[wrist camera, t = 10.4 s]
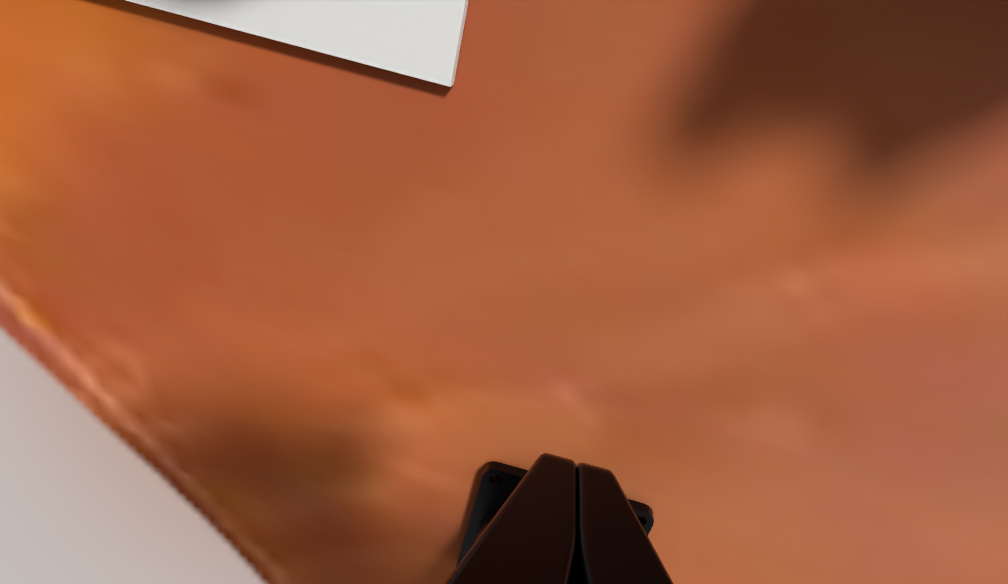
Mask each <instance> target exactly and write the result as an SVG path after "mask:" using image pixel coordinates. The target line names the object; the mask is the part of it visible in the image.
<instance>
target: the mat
mask: <svg viewBox="0 0 1008 584" xmlns="http://www.w3.org/2000/svg"><path fill="white" fill-rule="evenodd" d="M126 1H130V2H134V3H137V4H141V5H145V6H149V7H152V8H156V9H160V10H164V11H167V12H171V13H175V14H179V15H182V16H186V17H190V18H194V19H197V20H201V21H205V22H209V23H212V24H216V25H220V26H224V27H227V28H231V29H235V30H239V31H242V32H246V33H250V34H254V35H257V36H261V37H265V38H269V39H272V40H276V41H280V42H284V43H288V44H291V45H295V46H299V47H303V48H306V49H310V50H314V51H318V52H321V53H325V54H329V55H333V56H336V57H340V58H344V59H348V60H351V61H355V62H359V63H363V64H366V65H370V66H374V67H378V68H381V69H385V70H389V71H393V72H396V73H400V74H404V75H408V76H411V77H415V78H419V79H423V80H426V81H430V82H434V83H438V84H441V85H445V86H449V87H451V86H452V85H454V80H455V74H456V69H457V63H458V57H459V52H460V46H461V41H462V35H463V29H464V24H465V18H466V13H467V7H468V2H469V0H126Z"/></svg>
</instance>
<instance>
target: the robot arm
mask: <svg viewBox="0 0 1008 584" xmlns="http://www.w3.org/2000/svg"><path fill="white" fill-rule="evenodd" d="M493 475H498V476H500V477H494V476H493ZM637 516H642V518H637ZM653 523H654V518H653V511H652V509H651V508H650V507H649V506H648V505H646V504H643V503H640V502H636V501H633V500H629V499H627V498H626V496H625V494H624V492H623V490H622V488H621V486H620V485H619V483H618V481H617V479H616V477H615V476H614V474H613V473H612V472H611V471H610V470H608V469H604V468H601V467H597V466H593V465H589V464H586V463H579V464H578V465H575V463H574V461H573V460H571V459H567V458H563V457H560V456H556V455H552V454H549V453H544V454H542V455H540V456H539V457H538V459H537V460H536V461H535V463H534V464H533V465H532V467H531V468H530V469H529V471H528V470H524V469H521V468H517V467H514V466H510V465H507V464H503V463H499V462H492V463H489V464H488V465H486V467H485V468H484V472H483V475H482V479H481V482H480V486H479V489H478V492H477V496H476V499H475V503H474V506H473V510H472V513H471V517H470V520H469V524H468V527H467V531H466V534H465V538H464V541H463V545H462V548H461V552H460V555H459V559H458V562H457V566H456V569H455V570H454V571H453V573H452V574H451V575H450V577H449V578H448V579H447V581H446V582H445V583H444V584H673V582H672V580H671V578H670V577H669V575H668V573H667V571H666V569H665V567H664V566H663V564H662V562H661V560H660V558H659V556H658V554H657V553H656V551H655V549H654V547H653V545H652V543H651V542H650V540H649V538H648V534H649V532H650V530H651V528H652V526H653Z"/></svg>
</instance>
